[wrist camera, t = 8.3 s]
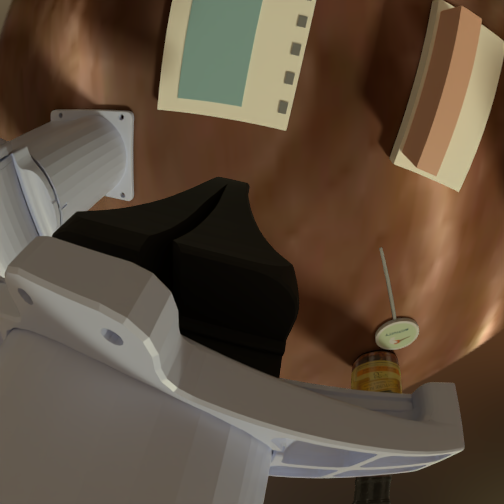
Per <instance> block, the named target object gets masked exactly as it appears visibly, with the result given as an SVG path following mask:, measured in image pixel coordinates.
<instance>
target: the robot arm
mask: <svg viewBox="0 0 504 504" xmlns="http://www.w3.org/2000/svg"><path fill="white" fill-rule="evenodd" d="M62 115H63V116H62ZM121 115H123V116H124V119H122V118H121ZM133 131H134V114H133V113H132V112H131V111H125V110H102V109H58V110H53V111H52V112H51V122H48V123H46V124H44V125H42V126H40V127H37V128H35V129H33V130H31V131H29V132H27V133H25V134H23V135H21V136H19V137H17V138H15V139H13V140H11V141H6V140H4V139H2V138H0V504H263V502H264V496H265V491H266V486H267V480H268V476H278V477H296V478H344V477H362V476H374V475H385V474H393V473H394V474H395V473H404V472H412V471H417V470H419V469H422V468H425V467H427V466H429V465H432V464H434V463H437V462H439V461H441V460H444V459H445V458H448V457H450V456H452V455H454V454H456V453H459V452H460V451H463V449H464V448H465V447H464V437H463V430H462V423H461V415H460V409H459V404H458V398H457V393H456V388H455V384H454V383H443V382H442V383H441V382H429V383H426V384H423V385H422V386H420V387H419V388H417V389H416V390H415V391H414V392H413V393H412V394H400V393H385V392H374V391H363V390H354V389H346V388H338V387H331V386H324V385H317V384H311V383H305V382H299V381H293V380H288V379H283V378H279V375H280V368H281V360H282V356H283V354H284V352H285V345H286V339H287V337H288V335H289V333H290V331H291V329H292V327H293V325H294V322H295V320H296V318H297V314H298V310H299V295H298V287H297V280H296V276H295V271H294V267H293V265H292V264H291V263H289V262H288V261H287V260H286V259H285V258H283V257H282V256H281V255H280V254H278V253H277V252H276V251H275V250H274V249H273V247H272V246H271V245H270V244H269V243H268V242H267V241H266V239H265V238H264V236H263V235H262V233H261V232H260V230H259V228H258V226H257V224H256V222H255V220H254V217H253V214H252V211H251V208H250V203H249V198H248V193H249V187H250V186H249V185H248V183H245V182H241V181H236V180H232V179H227V178H222V177H216V178H213V179H211V180H209V181H207V182H204V183H202V184H200V185H198V186H196V187H193V188H191V189H189V190H186V191H184V192H181V193H179V194H176V195H174V196H171V197H168V198H165V199H162V200H158V201H155V202H151V203H146V204H142V205H137V206H132V207H126V208H120V209H111V210H99V211H87V210H88V209H90V208H91V207H92V206H93V205H94V204H95V203H96V202H98V201H99V200H100V199H101V198H102V197H103V196H108V197H112V198H117V199H122V200H126V201H130V200H132V199H133V197H134V181H133ZM122 192H123V193H124V194H125V195H123V193H122Z"/></svg>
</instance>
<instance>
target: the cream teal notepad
mask: <svg viewBox="0 0 504 504" xmlns="http://www.w3.org/2000/svg"><path fill="white" fill-rule="evenodd" d="M315 3H316V0H172V4H171V10H170V15H169V21H168V26H167V32H166V39H165V45H164V53H163V60H162V68H161V77H160V86H159V97H158V110H168V111H177V112H186V113H193V114H201V115H208V116H214V117H220V118H226V119H232V120H238V121H243V122H248V123H253V124H258V125H263V126H267V127H272V128H276V129H281V130H285V131H286V129H287V125H288V121H289V117H290V113H291V108H292V104H293V100H294V95H295V91H296V87H297V82H298V78H299V74H300V69H301V65H302V61H303V56H304V52H305V47H306V43H307V39H308V34H309V30H310V25H311V21H312V17H313V12H314V8H315Z"/></svg>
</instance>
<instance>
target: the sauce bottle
mask: <svg viewBox="0 0 504 504" xmlns="http://www.w3.org/2000/svg"><path fill="white" fill-rule="evenodd" d="M351 389H354V390H363V391H374V392H385V393H400V394H402V387H401V375H400V367H399V364H398V359H397V357H396V355H394V354H393V353H390V352H388V351H374V352H370V353H367V354H363V355H361V356H360V357H359V358H358V359H357V360H356V361H355V362H354V364H353V367H352V375H351ZM391 476H392V474H385V475H374V476H362V477H356V480H355V485H356V486H355V494H354V501H353V503H352V504H390V500H389V493H390V482H391Z"/></svg>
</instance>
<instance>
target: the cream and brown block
mask: <svg viewBox="0 0 504 504" xmlns="http://www.w3.org/2000/svg"><path fill="white" fill-rule="evenodd" d="M481 23H482V19H481V18H480V17H478V16H477V15H475V14H474V13H472V12H471V11H469V10H468V9H466V8H465V7H463V6H458V7H454V6H452V5H450V4H449V3H447V2H445V1H443V0H434V1H432V6H431V12H430V17H429V22H428V27H427V32H426V36H425V41H424V45H423V49H422V54H421V58H420V62H419V65H418V69H417V73H416V77H415V80H414V84H413V87H412V91H411V94H410V98H409V101H408V104H407V108H406V111H405V114H404V117H403V120H402V123H401V126H400V129H399V132H398V135H397V138H396V141H395V144H394V147H393V149H392V152H391V155H390V158H389V159H390V160H391V161H392V163H393V164H395V165H397V166H400V167H403V168H405V169H408V170H410V171H413V172H415V173H418V174H420V175H422V176H425V177H427V178H429V179H432V180H434V181H436V182H439V183H441V184H443V185H445V186H447V187H450V188H452V189H454V190H456V191H458V192H459V191H460V189H461V186H462V184H463V182H464V180H465V177H466V175H467V173H468V170H469V168H470V166H471V163H472V161H473V158H474V156H475V153H476V151H477V148H478V145H479V143H480V140H481V137H482V134H483V132H484V129H485V126H486V123H487V120H488V117H489V113H490V110H491V107H492V103H493V100H494V96H495V93H496V89H497V85H498V81H499V77H500V72H501V68H502V63H503V58H504V41H503V40H502V39H501V38H499V37H498V36H497V35H495V34H494V33H493V32H491V31H490V30H489V29H487V28H486V27H485V26H483V25H482V24H481Z"/></svg>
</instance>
